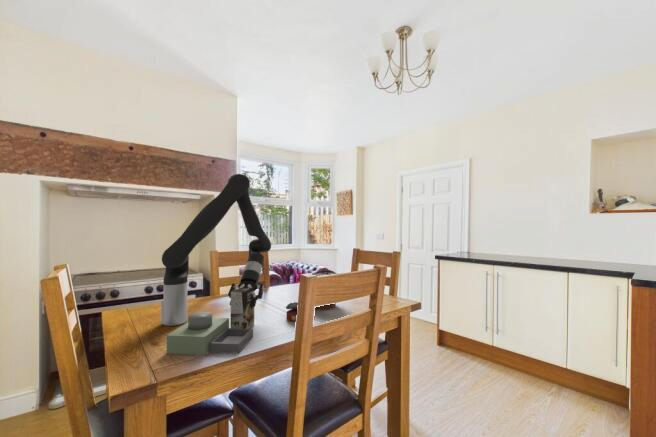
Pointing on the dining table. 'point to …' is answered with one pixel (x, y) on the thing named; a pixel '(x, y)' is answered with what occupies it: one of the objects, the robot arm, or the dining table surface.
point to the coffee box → (242, 308)
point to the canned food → (292, 311)
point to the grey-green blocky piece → (207, 336)
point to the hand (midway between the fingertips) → (241, 307)
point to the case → (325, 272)
